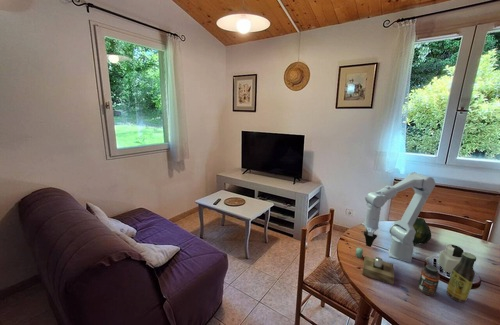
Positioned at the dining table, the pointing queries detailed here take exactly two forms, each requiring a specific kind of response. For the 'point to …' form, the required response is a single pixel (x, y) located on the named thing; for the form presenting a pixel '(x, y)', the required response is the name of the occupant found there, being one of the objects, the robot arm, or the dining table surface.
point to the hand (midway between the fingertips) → (368, 242)
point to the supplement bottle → (429, 280)
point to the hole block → (378, 270)
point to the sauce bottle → (462, 278)
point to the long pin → (378, 263)
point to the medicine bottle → (450, 257)
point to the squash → (421, 231)
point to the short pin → (359, 252)
